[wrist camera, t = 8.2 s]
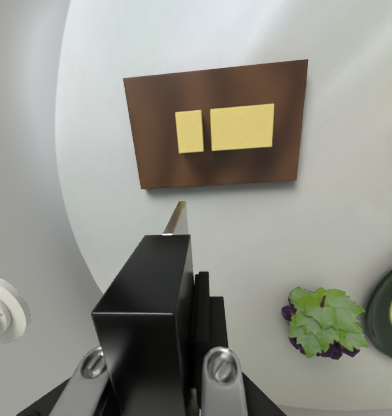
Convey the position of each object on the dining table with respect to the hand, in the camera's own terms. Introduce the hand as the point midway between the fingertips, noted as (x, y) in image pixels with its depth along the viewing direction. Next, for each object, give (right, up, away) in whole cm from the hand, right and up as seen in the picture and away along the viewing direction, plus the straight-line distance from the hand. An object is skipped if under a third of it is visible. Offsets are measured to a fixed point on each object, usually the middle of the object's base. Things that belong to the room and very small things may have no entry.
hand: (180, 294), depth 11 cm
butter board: (+3, +15, +15) cm, 22 cm away
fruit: (+20, -12, +24) cm, 34 cm away
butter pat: (0, +15, +14) cm, 20 cm away
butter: (+6, +15, +14) cm, 21 cm away
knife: (0, +1, +3) cm, 4 cm away
